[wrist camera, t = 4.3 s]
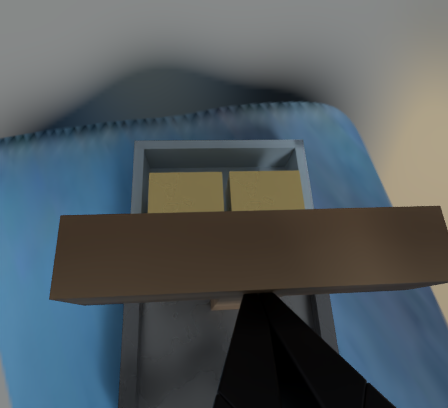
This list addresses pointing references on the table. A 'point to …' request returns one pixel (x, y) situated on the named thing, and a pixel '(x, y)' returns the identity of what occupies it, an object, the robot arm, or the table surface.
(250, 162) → the tray
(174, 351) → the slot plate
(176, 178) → the chip
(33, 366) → the table surface
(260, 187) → the chip
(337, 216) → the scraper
